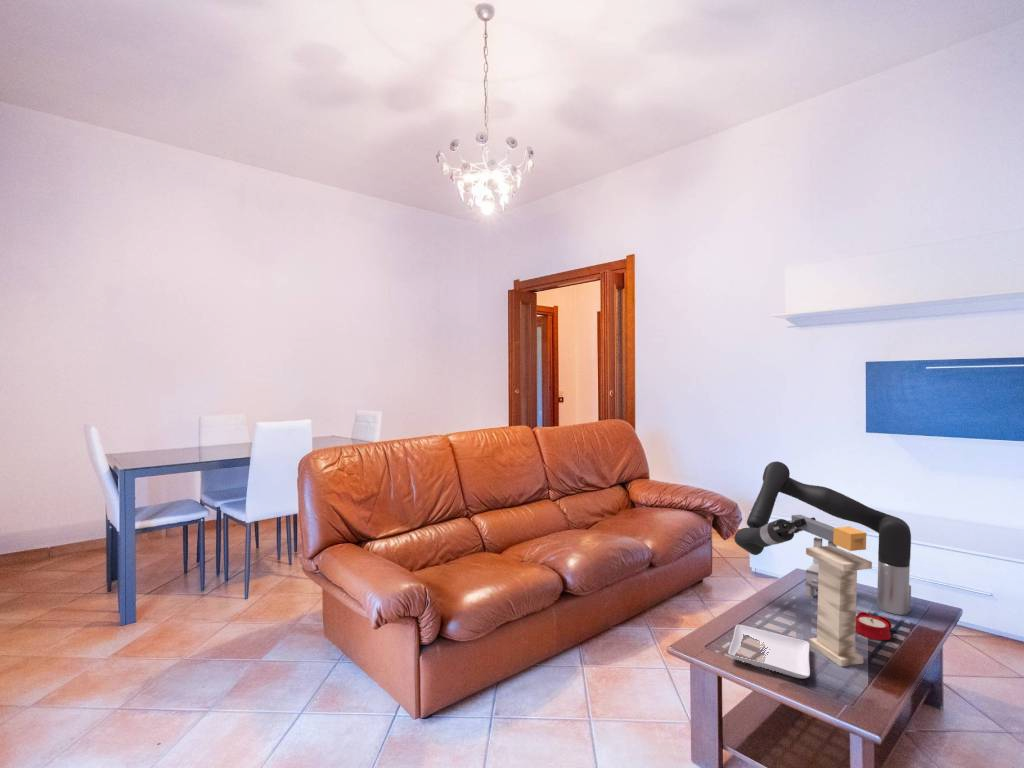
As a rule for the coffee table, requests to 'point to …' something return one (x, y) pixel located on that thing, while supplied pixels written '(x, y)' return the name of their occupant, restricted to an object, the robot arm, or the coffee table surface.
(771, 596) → the coffee table surface
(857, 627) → the alarm clock
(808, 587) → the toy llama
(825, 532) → the orange-tipped gray rod
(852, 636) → the stand
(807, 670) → the salad plate
